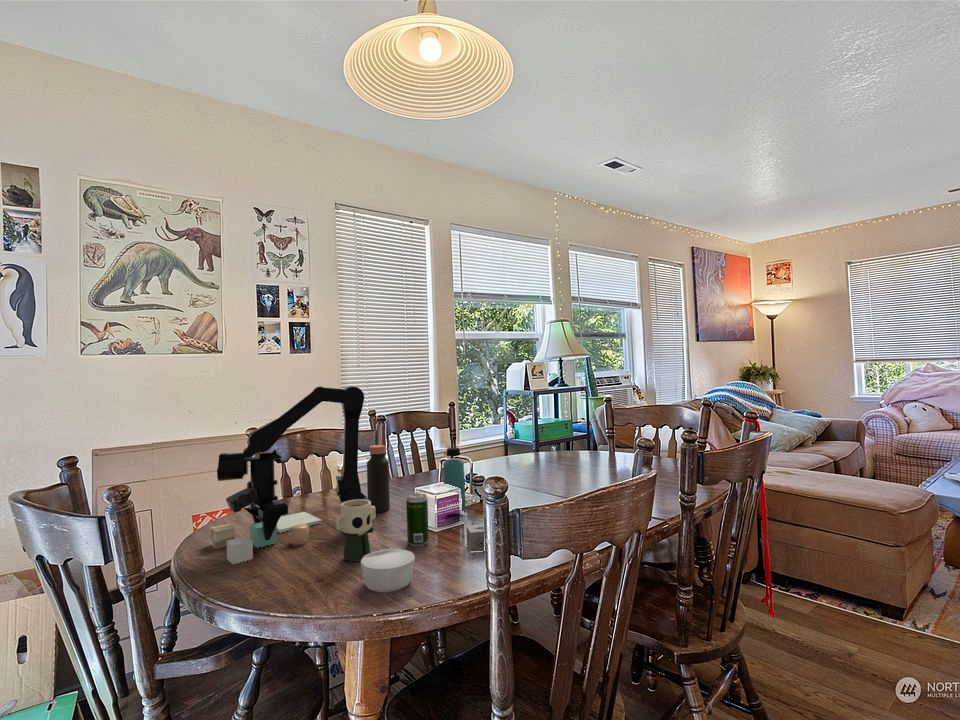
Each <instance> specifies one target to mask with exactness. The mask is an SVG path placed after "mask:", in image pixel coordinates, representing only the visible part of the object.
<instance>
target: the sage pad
mask: <svg viewBox="0 0 960 720" xmlns="http://www.w3.org/2000/svg"><path fill="white" fill-rule="evenodd" d="M322 521H323V520H322V519H320V518H319V517H316V516H314V515H312V514H310V513H308V512H306V511H301V512H298V513H292V514H286V515H281V517H280V519H279V521H278V523H277V533H278V534H282V532H283V533H287V532H286V531H288V532H291V531H290V530H291V527H292V526H295V525H300V524H306V525H308V526H309V527H311V526H312V525H313V526H315V525H316V524H317V525H320V524H322ZM317 525H316V526H317Z"/></svg>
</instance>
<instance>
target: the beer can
mask: <svg viewBox="0 0 960 720" xmlns="http://www.w3.org/2000/svg"><path fill="white" fill-rule="evenodd" d="M406 497H407V498H406V500H405V501H406V502H405V503H406V538H407V543H408V545H409V546H410V545H411V546H410V547H422V546H421V545H423V546H426V545H427V544H428V543H429V505H428V502H429V501H428V500H429V499H428V496H427V494H426V493H422V492H421V493H420V492H419V493H417V492H416V493H411V494H408V495H407V496H406ZM425 544H426V545H425Z"/></svg>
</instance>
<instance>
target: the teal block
mask: <svg viewBox="0 0 960 720" xmlns="http://www.w3.org/2000/svg"><path fill="white" fill-rule="evenodd" d="M249 526H250V527H249V528H250V529H249V531H250V539H251V540H252V541H253V545H254V546H253V547H255V548H256V547H257V548H256V549H260V548H259V547H261V548H263V547H262V546H265V547H267V546H266V545H269V546H272V545H271V544H273V545H276V544H275V543H277V544H278V532H277V525H276V527H275V529H274V531H273V534H272V536H271V538H270V540H265V537H264V532H263V526H262V522H258V523H254V522H253V523H250V524H249Z"/></svg>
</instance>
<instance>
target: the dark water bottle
mask: <svg viewBox="0 0 960 720" xmlns="http://www.w3.org/2000/svg"><path fill="white" fill-rule="evenodd" d="M385 455H386V445H385V444H373V445H370V446H369V456H370V458H369V459H368V461H367V462H366V483H367V485H366V486H367V492H366V493H367V499H368V500H369V501H371V506H375V509H376V513H383V512H386V511H388V510H390V508H391V507H390V505H391V502H390V501H391V500H390V467H389V466H390V465H389V463H390V462H389V460H388V459H387V458H386V457H385Z"/></svg>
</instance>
